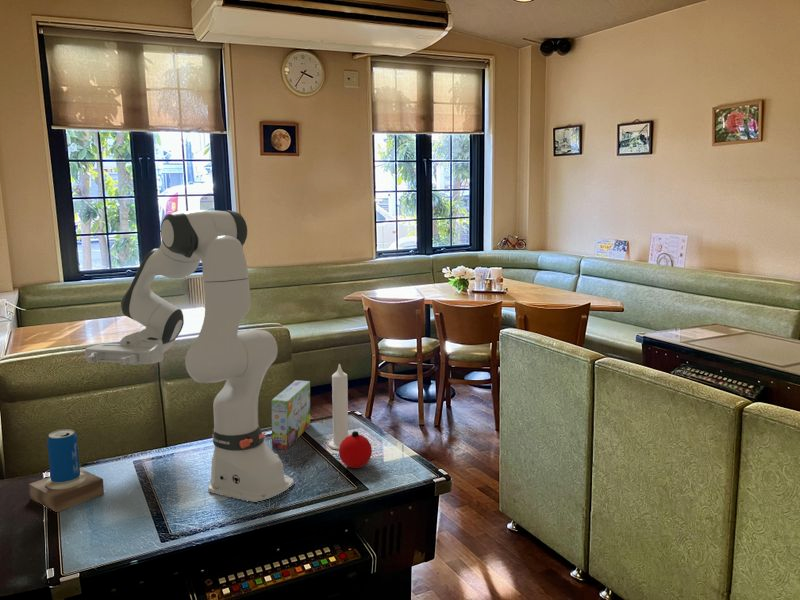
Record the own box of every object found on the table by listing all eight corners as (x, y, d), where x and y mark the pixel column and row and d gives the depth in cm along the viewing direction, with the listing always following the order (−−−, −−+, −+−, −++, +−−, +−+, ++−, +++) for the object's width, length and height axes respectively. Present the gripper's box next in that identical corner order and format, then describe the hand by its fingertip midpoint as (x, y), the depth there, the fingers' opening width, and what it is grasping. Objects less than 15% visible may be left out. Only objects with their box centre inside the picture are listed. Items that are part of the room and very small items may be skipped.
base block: (104, 493, 160) (102, 477, 159) (55, 513, 150) (53, 495, 149) (78, 481, 166) (77, 465, 166) (30, 499, 157) (28, 482, 156)
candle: (324, 445, 191) (322, 363, 187) (342, 438, 195) (341, 359, 191) (338, 452, 186) (337, 368, 181) (357, 445, 190) (356, 364, 186)
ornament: (333, 464, 177) (333, 429, 176) (362, 457, 182) (362, 423, 180) (348, 476, 170) (347, 440, 168) (377, 468, 174) (377, 434, 173)
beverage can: (68, 486, 154) (64, 439, 152) (44, 484, 155) (40, 437, 153) (86, 475, 160) (82, 429, 158) (63, 473, 161) (59, 427, 159)
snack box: (289, 450, 187) (288, 400, 184) (271, 449, 188) (269, 399, 185) (311, 424, 208) (310, 380, 205) (295, 423, 209) (294, 379, 206)
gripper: (102, 336, 185) (69, 347, 171) (167, 339, 181) (139, 351, 168) (103, 357, 186) (71, 370, 172) (168, 361, 182) (140, 374, 169)
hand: (105, 361), depth 170 cm, fingers open, 8 cm apart
